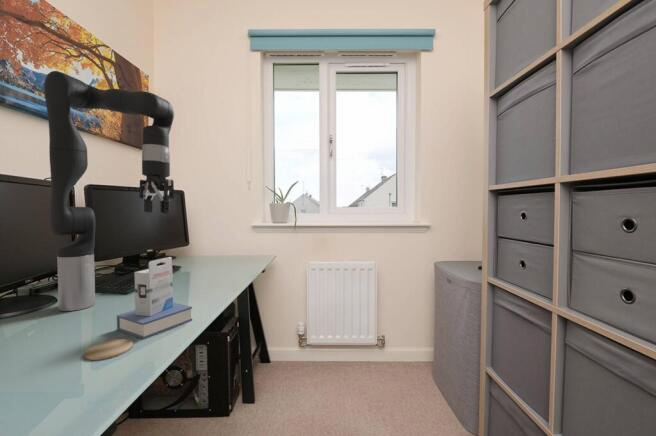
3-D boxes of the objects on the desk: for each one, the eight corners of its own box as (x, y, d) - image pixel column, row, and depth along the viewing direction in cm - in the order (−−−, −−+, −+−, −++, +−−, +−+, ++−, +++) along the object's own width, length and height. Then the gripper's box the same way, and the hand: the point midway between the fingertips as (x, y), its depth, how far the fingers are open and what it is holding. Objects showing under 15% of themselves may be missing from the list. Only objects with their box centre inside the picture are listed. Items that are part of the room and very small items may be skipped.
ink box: (159, 305, 87) (158, 255, 86) (173, 306, 86) (172, 256, 85) (134, 315, 78) (133, 260, 78) (149, 317, 77) (148, 261, 77)
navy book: (116, 329, 79) (116, 315, 79) (166, 313, 91) (166, 300, 91) (143, 339, 73) (142, 323, 73) (192, 320, 86) (192, 306, 85)
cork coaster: (76, 354, 66) (76, 351, 66) (120, 338, 74) (120, 336, 74) (97, 364, 61) (96, 361, 61) (141, 346, 69) (141, 343, 69)
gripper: (130, 160, 91) (131, 212, 92) (157, 157, 85) (158, 213, 85) (154, 163, 98) (154, 211, 99) (181, 161, 91) (181, 213, 92)
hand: (156, 212), depth 92 cm, fingers open, 8 cm apart
